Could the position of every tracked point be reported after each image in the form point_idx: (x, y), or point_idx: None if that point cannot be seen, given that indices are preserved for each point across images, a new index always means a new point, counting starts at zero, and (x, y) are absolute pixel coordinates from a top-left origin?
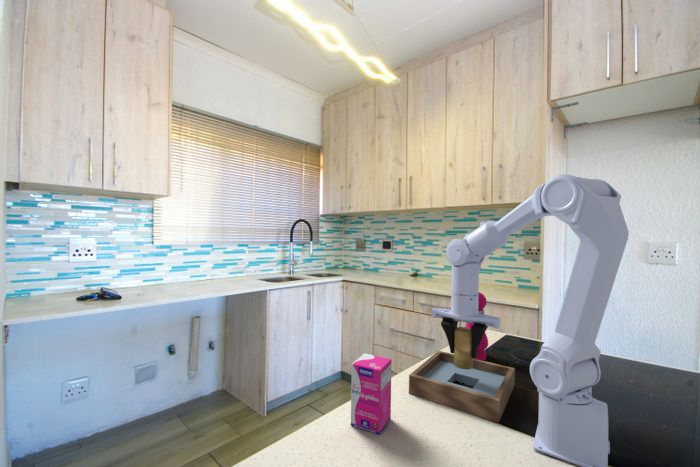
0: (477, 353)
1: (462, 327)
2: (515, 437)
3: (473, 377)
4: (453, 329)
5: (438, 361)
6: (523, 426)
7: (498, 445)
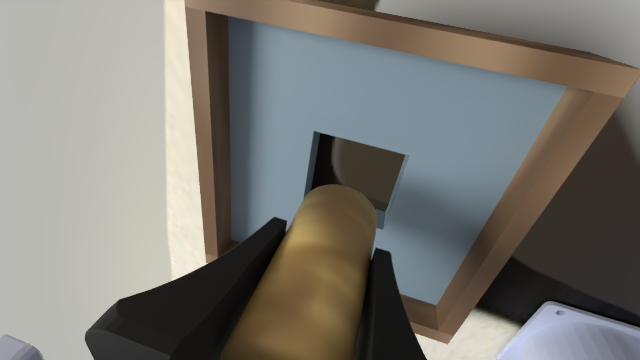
0: (391, 260)
1: (260, 347)
2: (469, 328)
3: (386, 146)
4: (219, 354)
5: (226, 46)
6: (504, 298)
7: (429, 346)
